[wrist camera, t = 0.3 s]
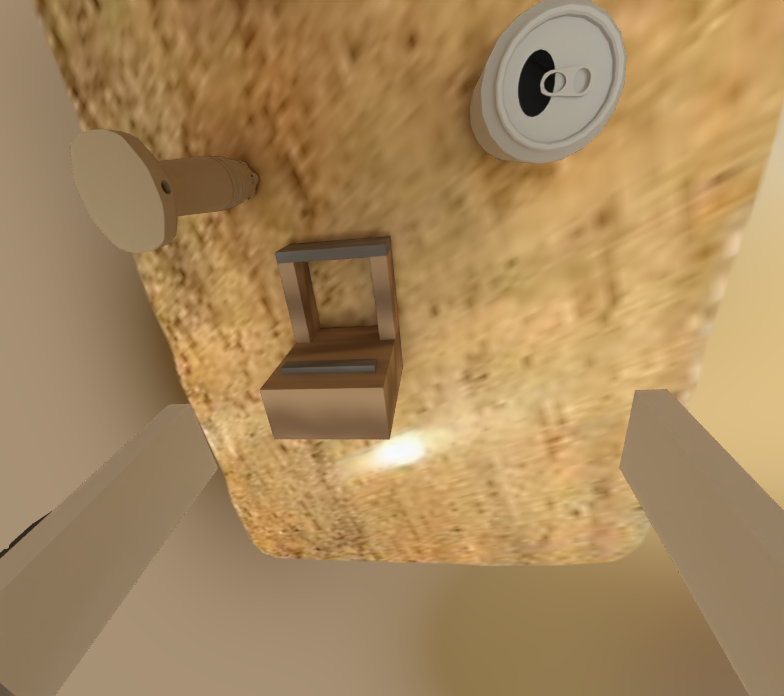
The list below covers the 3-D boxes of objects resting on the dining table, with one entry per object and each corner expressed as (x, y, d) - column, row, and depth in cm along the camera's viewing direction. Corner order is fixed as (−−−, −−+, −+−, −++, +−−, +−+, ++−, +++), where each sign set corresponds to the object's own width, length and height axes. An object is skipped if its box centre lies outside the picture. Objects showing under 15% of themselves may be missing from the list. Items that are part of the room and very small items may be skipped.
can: (472, 51, 28) (491, -13, 18) (576, 45, 27) (662, -25, 17) (465, 162, 32) (477, 165, 21) (558, 160, 31) (619, 162, 20)
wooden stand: (288, 244, 36) (226, 280, 26) (390, 236, 35) (368, 270, 24) (315, 368, 43) (274, 439, 32) (402, 366, 41) (389, 439, 31)
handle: (231, 220, 36) (109, 257, 23) (207, 145, 33) (52, 138, 20) (278, 213, 35) (179, 247, 22) (256, 135, 32) (129, 121, 19)
